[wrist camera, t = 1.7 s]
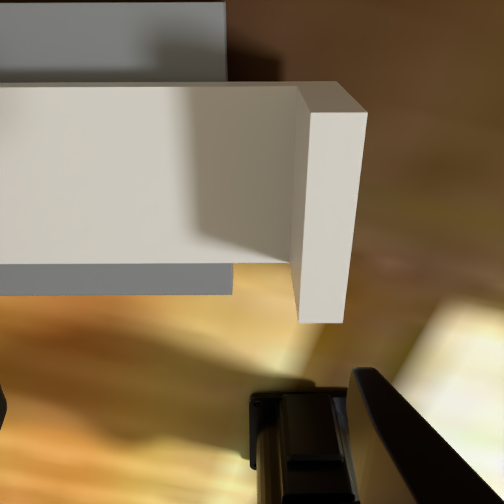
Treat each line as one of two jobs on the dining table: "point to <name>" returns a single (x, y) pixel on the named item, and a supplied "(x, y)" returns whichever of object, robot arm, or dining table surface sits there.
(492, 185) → the dining table surface
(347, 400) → the robot arm
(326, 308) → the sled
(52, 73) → the grey piece
